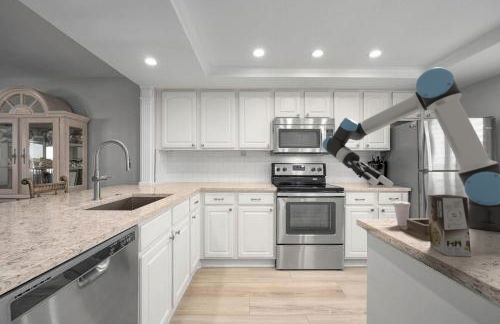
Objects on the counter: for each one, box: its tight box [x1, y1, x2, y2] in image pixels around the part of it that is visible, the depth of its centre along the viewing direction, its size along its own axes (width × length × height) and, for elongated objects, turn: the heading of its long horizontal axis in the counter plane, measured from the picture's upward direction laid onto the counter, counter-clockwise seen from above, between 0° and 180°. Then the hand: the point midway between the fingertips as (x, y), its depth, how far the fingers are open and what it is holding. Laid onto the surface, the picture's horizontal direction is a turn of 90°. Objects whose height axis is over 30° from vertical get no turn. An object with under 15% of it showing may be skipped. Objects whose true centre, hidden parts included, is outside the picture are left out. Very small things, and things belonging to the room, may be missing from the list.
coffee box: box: [426, 194, 472, 257], centre depth 74 cm, size 9×6×16 cm
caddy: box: [399, 218, 430, 242], centre depth 92 cm, size 14×16×4 cm
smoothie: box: [392, 192, 411, 227], centre depth 108 cm, size 6×6×14 cm
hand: (384, 185), depth 108 cm, fingers open, 13 cm apart
